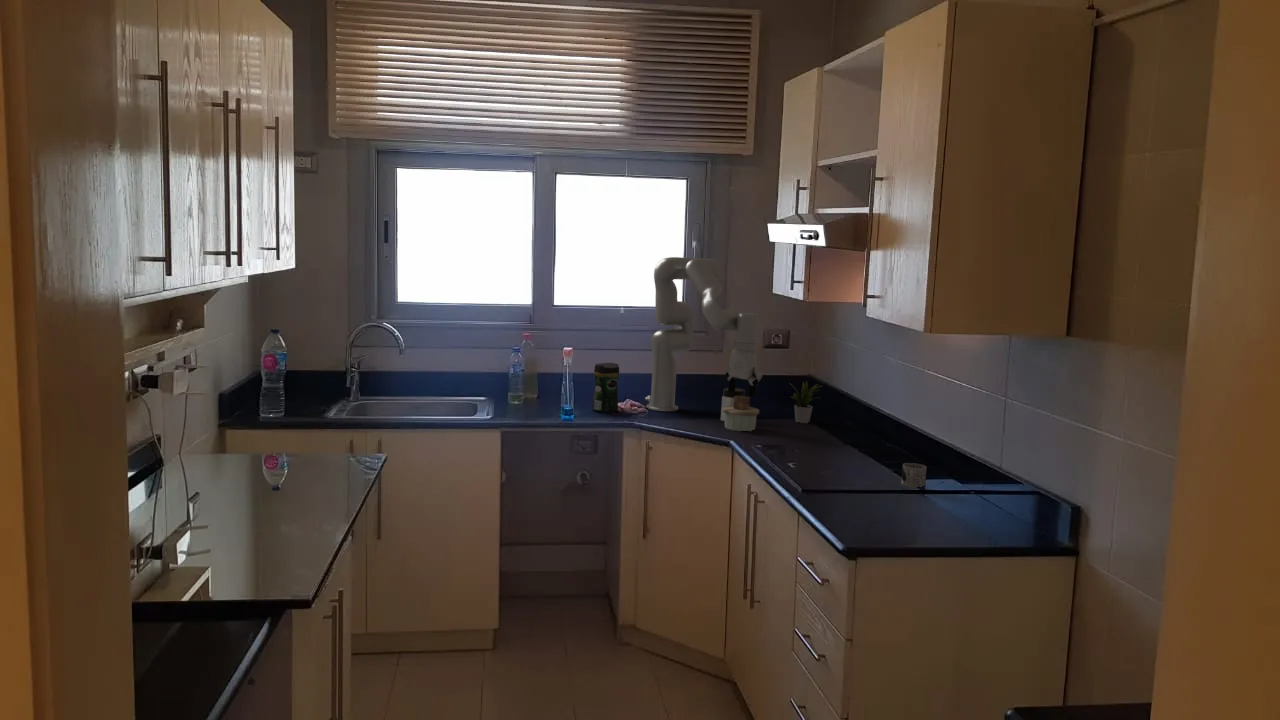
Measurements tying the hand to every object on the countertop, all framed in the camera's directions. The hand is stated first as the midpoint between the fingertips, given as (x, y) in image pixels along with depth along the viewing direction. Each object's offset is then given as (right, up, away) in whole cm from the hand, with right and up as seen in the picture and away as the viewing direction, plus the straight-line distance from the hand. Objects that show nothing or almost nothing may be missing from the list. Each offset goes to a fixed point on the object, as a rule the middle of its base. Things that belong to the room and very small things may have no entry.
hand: (741, 393), depth 357 cm
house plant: (+27, -12, +20) cm, 35 cm away
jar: (-2, -11, +15) cm, 19 cm away
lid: (0, -7, +1) cm, 7 cm away
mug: (+42, -25, -74) cm, 88 cm away
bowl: (0, -13, +1) cm, 13 cm away
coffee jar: (-50, -7, +22) cm, 56 cm away
